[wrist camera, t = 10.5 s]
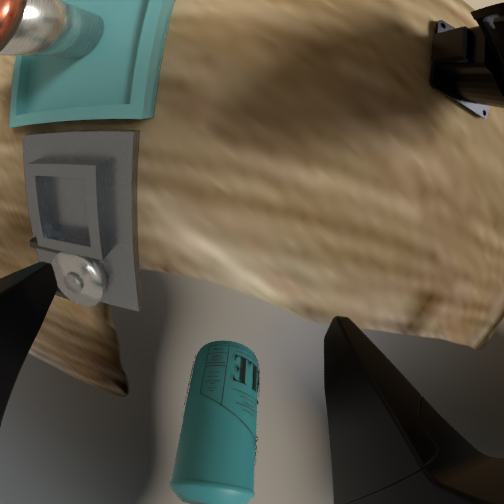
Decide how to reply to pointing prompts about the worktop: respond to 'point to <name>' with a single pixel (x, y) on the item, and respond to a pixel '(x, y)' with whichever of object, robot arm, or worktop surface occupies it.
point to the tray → (97, 69)
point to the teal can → (219, 428)
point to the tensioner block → (86, 212)
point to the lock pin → (48, 29)
